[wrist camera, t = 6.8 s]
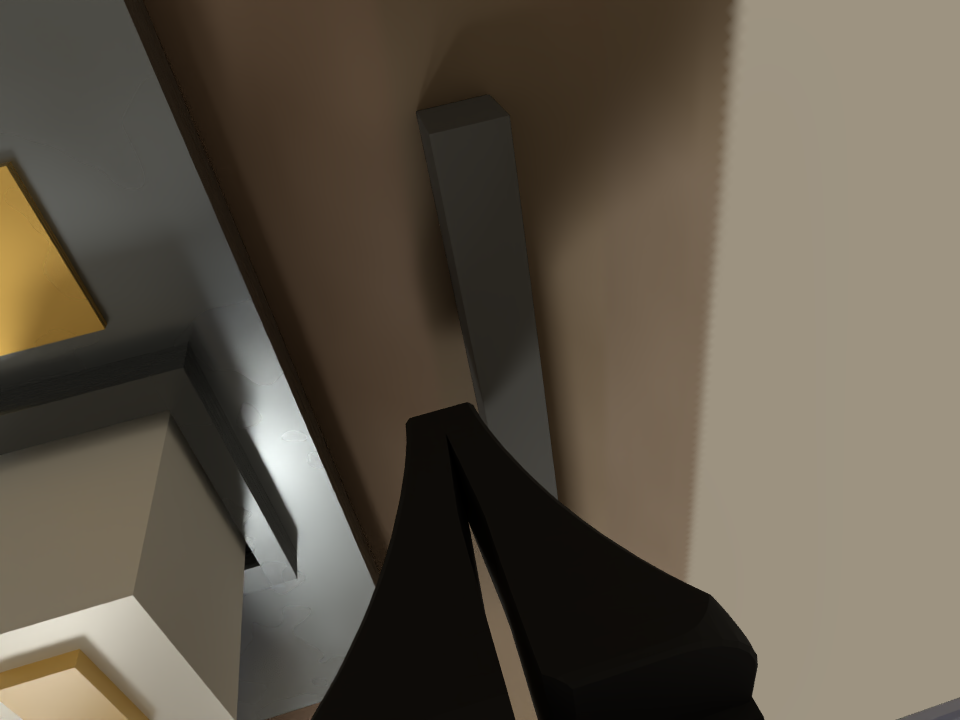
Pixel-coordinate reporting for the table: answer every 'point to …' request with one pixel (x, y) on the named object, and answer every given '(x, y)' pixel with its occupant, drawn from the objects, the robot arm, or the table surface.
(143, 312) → the panel
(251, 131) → the table surface
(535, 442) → the dark gray bar
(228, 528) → the toggle
